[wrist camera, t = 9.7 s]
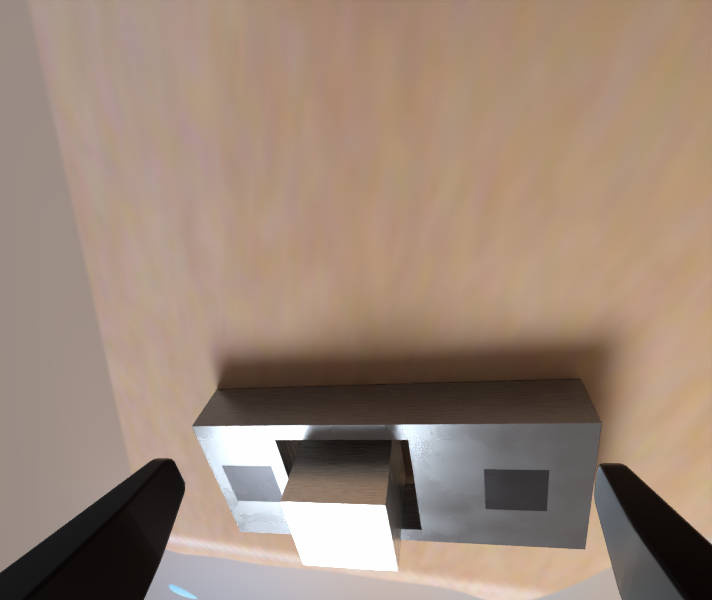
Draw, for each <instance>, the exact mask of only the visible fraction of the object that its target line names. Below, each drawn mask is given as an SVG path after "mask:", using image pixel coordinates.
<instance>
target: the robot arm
mask: <svg viewBox="0 0 712 600" xmlns="http://www.w3.org/2000/svg"><path fill="white" fill-rule="evenodd" d="M184 492H185V482H184V479H183V477H182V475H181V473H180V472H179V470H178V468H177V466H176V464H175V462H174V461H173V460H172V459H169V458H157V459H153V460H152V461H150V462H149V463H147V464H146V465H145V466H143V467H142V468H141V469H139V470H138V471H137V472H135V473H134V474H133V475H131V476H130V477H129V478H127V479H126V480H125V481H123V482H122V483H121V484H119V485H118V486H117V487H115V488H114V489H112V490H111V491H110V492H108V493H107V494H106V495H104V496H103V497H102V498H100V499H99V500H98V501H96V502H95V503H94V504H92V505H91V506H89V507H88V508H87V509H85V510H84V511H83V512H82V513H80V514H79V515H77V516H76V517H75V518H73V519H72V520H71V521H69V522H68V523H67V524H65V525H64V526H63V527H61V528H60V529H59V530H57V531H56V532H55V533H53V534H52V535H50V536H49V537H48V538H46V539H45V540H44V541H42V542H41V543H40V544H38V545H37V546H36V547H34V548H33V549H32V550H30V551H29V552H28V553H26V554H25V555H23V556H22V557H21V558H19V559H18V560H17V561H16V562H14V563H13V564H11V565H10V566H9V567H7V568H6V569H5V570H3V571H2V572H0V600H144V598H145V596H146V594H147V592H148V589H149V587H150V585H151V583H152V580H153V578H154V576H155V574H156V571H157V569H158V566H159V564H160V562H161V559H162V556H163V553H164V551H165V548H166V545H167V542H168V539H169V536H170V534H171V531H172V528H173V525H174V522H175V519H176V516H177V513H178V510H179V507H180V504H181V502H182V499H183V496H184ZM594 497H595V504H596V508H597V512H598V516H599V519H600V523H601V527H602V531H603V534H604V538H605V542H606V546H607V549H608V553H609V557H610V560H611V564H612V568H613V571H614V575H615V579H616V582H617V586H618V589H619V593H620V596H621V599H622V600H712V544H711V543H710V542H709V541H707V540H706V539H705V538H704V537H703V536H702V535H701V534H700V533H699V532H698V531H697V530H696V529H694V528H693V527H692V526H691V525H690V524H689V523H688V522H687V521H686V520H685V519H684V518H683V517H681V516H680V515H679V514H678V513H677V512H676V511H675V510H674V509H673V508H672V507H671V506H670V505H668V504H667V503H666V502H665V501H664V500H663V499H662V498H661V497H660V496H659V495H658V494H656V493H655V492H654V491H653V490H652V489H651V488H650V487H649V486H648V485H647V484H646V483H645V482H643V481H642V480H641V479H640V478H639V477H638V476H637V475H636V474H635V473H634V472H633V471H632V470H630V469H629V468H628V467H627V466H625V465H624V464H620V463H602V464H600V465H599V466H598V469H597V476H596V483H595V491H594Z"/></svg>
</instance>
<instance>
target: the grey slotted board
mask: <svg viewBox="0 0 712 600" xmlns="http://www.w3.org/2000/svg"><path fill="white" fill-rule="evenodd" d="M601 424H602V423H601V421H600V419H599V417H598V414H597V412H596V410H595V408H594V406H593V404H592V402H591V400H590V398H589V395H588V393H587V391H586V389H585V387H584V385H583V383H582V381H581V379H561V380H527V381H492V382H458V383H423V384H388V385H354V386H319V387H285V388H250V389H217V390H216V391H215V393H214V394H213V396H212V397H211V399H210V400H209V402H208V403H207V405H206V406H205V408H204V409H203V411H202V412H201V414H200V415H199V417H198V418H197V420H196V421H195V423H194V424H193V426H192V428H193V430H194V432H195V434H196V436H197V438H198V440H199V443H200V445H201V447H202V449H203V451H204V453H205V456H206V458H207V460H208V462H209V464H210V466H211V469H212V471H213V473H214V475H215V477H216V479H217V482H218V484H219V486H220V488H221V490H222V492H223V495H224V497H225V499H226V501H227V503H228V505H229V508H230V510H231V512H232V514H233V516H234V518H235V521H236V523H237V525H238V527H239V529H240V531H241V532H260V533H279V534H292V533H291V530H290V527H289V524H288V522H287V519H286V516H285V514H284V511H283V508H282V505H281V503H280V501H281V498H282V495H283V492H284V489H285V486H286V484H287V481H288V478H289V475H290V472H291V470H292V467H293V464H294V461H295V458H296V455H297V453H298V450H299V447H300V444H301V441H302V440H408V442H409V448H410V455H411V462H412V468H413V475H414V481H415V484H405V485H404V499H403V514H402V528H401V540H415V541H434V542H454V543H473V544H492V545H512V546H531V547H550V548H570V549H585V546H586V538H587V531H588V523H589V515H590V508H591V500H592V492H593V485H594V477H595V470H596V462H597V454H598V447H599V439H600V431H601Z"/></svg>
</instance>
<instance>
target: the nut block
mask: <svg viewBox="0 0 712 600" xmlns="http://www.w3.org/2000/svg"><path fill="white" fill-rule="evenodd" d="M404 485H405V467H404V460H403V454H402V448H401V441H400V440H302V441H301V444H300V447H299V450H298V453H297V455H296V458H295V461H294V464H293V467H292V470H291V472H290V475H289V478H288V481H287V484H286V486H285V489H284V492H283V495H282V498H281V501H280V503H281V505H282V508H283V511H284V514H285V516H286V519H287V522H288V524H289V527H290V530H291V533H292V535H293V538H294V541H295V543H296V546H297V549H298V551H299V554H300V557H301V560H302V562H303V565H314V566H328V567H342V568H356V569H370V570H384V571H399V556H400V542H401V528H402V514H403V499H404Z"/></svg>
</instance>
